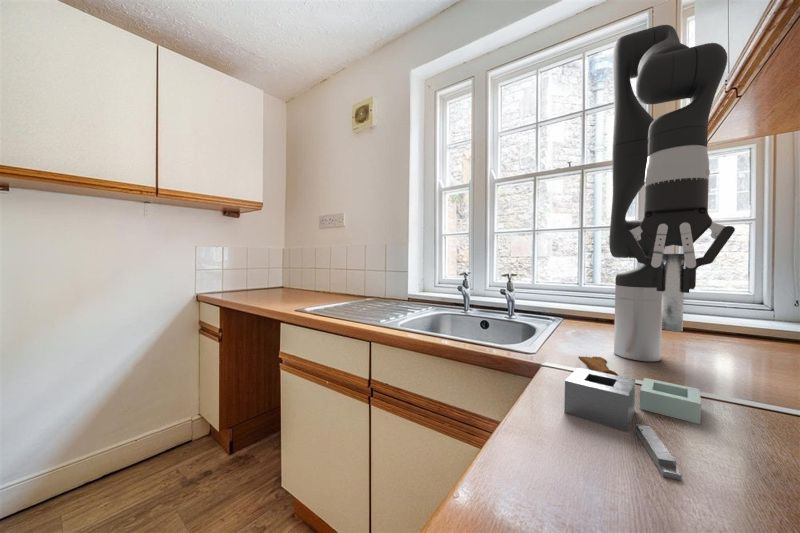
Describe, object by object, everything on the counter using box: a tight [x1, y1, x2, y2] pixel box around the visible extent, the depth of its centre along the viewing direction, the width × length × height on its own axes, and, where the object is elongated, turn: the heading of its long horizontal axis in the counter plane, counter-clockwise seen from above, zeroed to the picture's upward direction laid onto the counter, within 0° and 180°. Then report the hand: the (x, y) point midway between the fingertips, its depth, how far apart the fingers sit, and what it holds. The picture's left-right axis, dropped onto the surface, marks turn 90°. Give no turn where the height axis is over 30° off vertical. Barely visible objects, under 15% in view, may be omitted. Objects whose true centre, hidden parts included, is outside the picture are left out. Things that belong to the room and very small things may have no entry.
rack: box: [639, 377, 702, 425], centre depth 50 cm, size 7×7×3 cm
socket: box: [563, 367, 636, 432], centre depth 49 cm, size 8×8×5 cm
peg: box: [661, 253, 685, 332], centre depth 50 cm, size 3×3×12 cm
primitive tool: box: [578, 356, 619, 376], centre depth 67 cm, size 19×6×4 cm, turn 161°
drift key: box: [635, 423, 683, 481], centre depth 38 cm, size 9×2×1 cm, turn 158°
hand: (672, 291), depth 50 cm, fingers closed on peg, 2 cm apart
